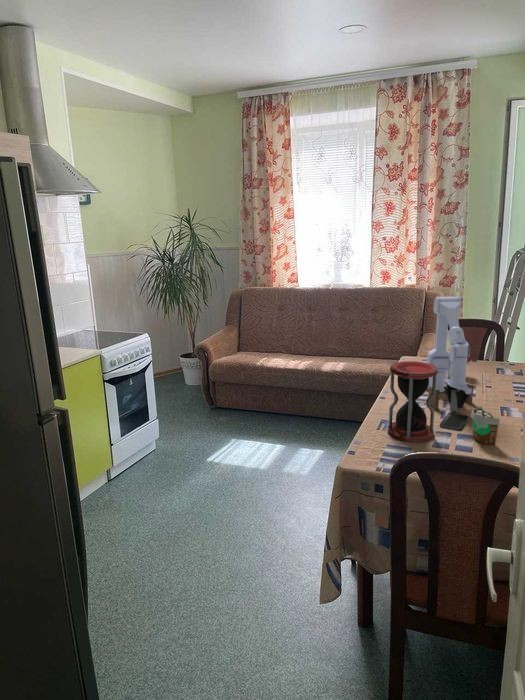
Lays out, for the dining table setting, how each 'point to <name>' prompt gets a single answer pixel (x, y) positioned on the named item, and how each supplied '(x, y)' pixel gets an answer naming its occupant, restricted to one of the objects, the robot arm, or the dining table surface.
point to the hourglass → (412, 401)
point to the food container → (484, 426)
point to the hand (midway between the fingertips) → (455, 405)
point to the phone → (454, 421)
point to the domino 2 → (454, 401)
